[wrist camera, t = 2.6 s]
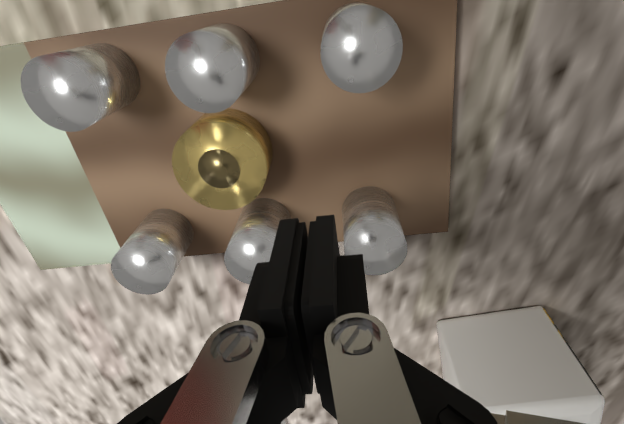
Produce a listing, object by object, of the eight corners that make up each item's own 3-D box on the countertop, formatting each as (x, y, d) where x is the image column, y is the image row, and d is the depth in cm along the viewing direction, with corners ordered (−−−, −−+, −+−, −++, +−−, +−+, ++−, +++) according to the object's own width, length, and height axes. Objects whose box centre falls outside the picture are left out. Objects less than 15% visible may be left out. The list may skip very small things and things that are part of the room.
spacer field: (67, 47, 18) (5, 60, 15) (386, -3, 17) (401, -2, 13) (153, 252, 24) (124, 296, 21) (395, 229, 23) (407, 272, 19)
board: (-74, 58, 19) (-89, 60, 19) (453, -27, 17) (458, -28, 16) (48, 262, 26) (40, 269, 25) (444, 224, 23) (447, 231, 22)
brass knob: (177, 114, 20) (158, 129, 17) (263, 102, 19) (254, 117, 17) (202, 192, 22) (187, 214, 20) (279, 183, 21) (274, 205, 19)
